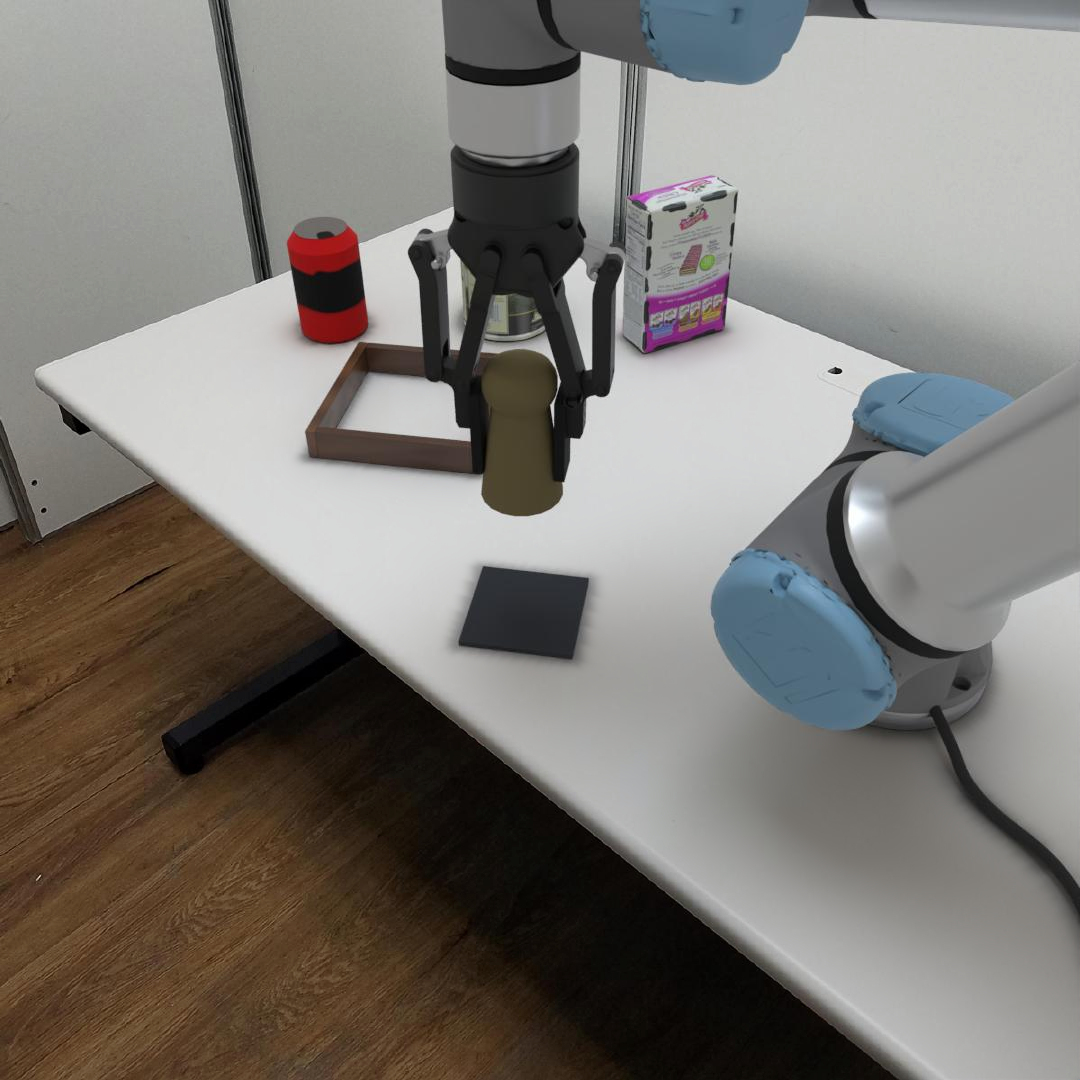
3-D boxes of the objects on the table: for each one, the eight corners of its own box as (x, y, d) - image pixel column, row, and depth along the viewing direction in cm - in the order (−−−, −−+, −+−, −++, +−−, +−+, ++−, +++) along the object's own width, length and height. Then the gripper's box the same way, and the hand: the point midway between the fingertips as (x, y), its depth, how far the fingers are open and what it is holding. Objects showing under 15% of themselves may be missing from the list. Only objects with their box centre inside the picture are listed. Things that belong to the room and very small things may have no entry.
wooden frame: (481, 474, 100) (480, 448, 98) (309, 457, 102) (304, 431, 101) (516, 379, 113) (515, 354, 111) (362, 365, 115) (358, 341, 113)
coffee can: (552, 298, 127) (552, 182, 117) (551, 342, 119) (551, 221, 110) (465, 298, 127) (458, 182, 118) (459, 342, 119) (451, 221, 110)
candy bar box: (699, 311, 124) (713, 172, 113) (725, 330, 120) (742, 188, 110) (618, 335, 120) (624, 193, 109) (642, 355, 116) (651, 211, 106)
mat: (572, 659, 82) (572, 655, 82) (458, 645, 83) (458, 641, 83) (588, 581, 89) (588, 577, 88) (483, 569, 90) (482, 565, 90)
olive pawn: (523, 456, 81) (520, 327, 74) (580, 490, 78) (583, 359, 71) (463, 490, 78) (455, 360, 71) (520, 527, 75) (517, 395, 68)
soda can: (311, 350, 118) (294, 248, 110) (294, 319, 123) (277, 220, 115) (377, 335, 120) (365, 234, 112) (357, 306, 125) (344, 208, 118)
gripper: (677, 128, 63) (653, 448, 78) (381, 112, 66) (412, 425, 81) (666, 177, 57) (642, 512, 73) (343, 157, 60) (384, 485, 75)
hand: (521, 466), depth 77 cm, fingers closed on olive pawn, 5 cm apart
